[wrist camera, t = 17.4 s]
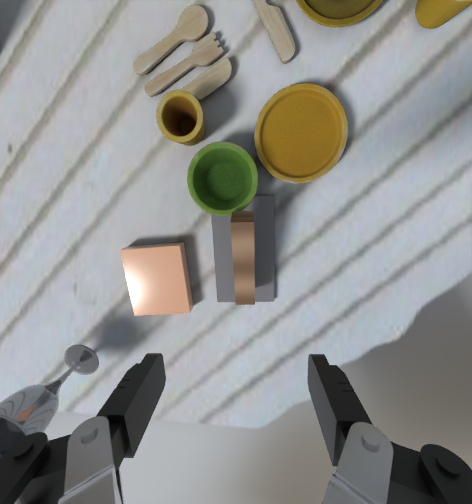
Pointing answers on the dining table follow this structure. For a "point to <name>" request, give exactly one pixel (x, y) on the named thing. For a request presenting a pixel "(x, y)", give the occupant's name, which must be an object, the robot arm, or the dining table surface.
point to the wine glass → (40, 400)
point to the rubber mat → (262, 247)
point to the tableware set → (273, 113)
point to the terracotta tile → (158, 278)
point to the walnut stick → (243, 256)
